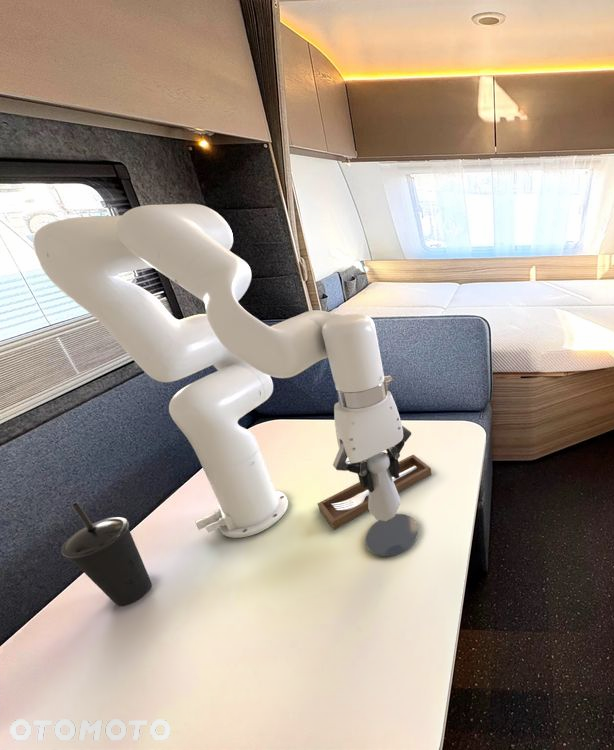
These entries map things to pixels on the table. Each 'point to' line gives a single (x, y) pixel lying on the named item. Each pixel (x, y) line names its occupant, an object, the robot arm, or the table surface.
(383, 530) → the coaster
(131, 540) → the drinking cup
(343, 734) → the table surface
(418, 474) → the cutlery tray
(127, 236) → the robot arm
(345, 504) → the fork
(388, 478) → the salt shaker
